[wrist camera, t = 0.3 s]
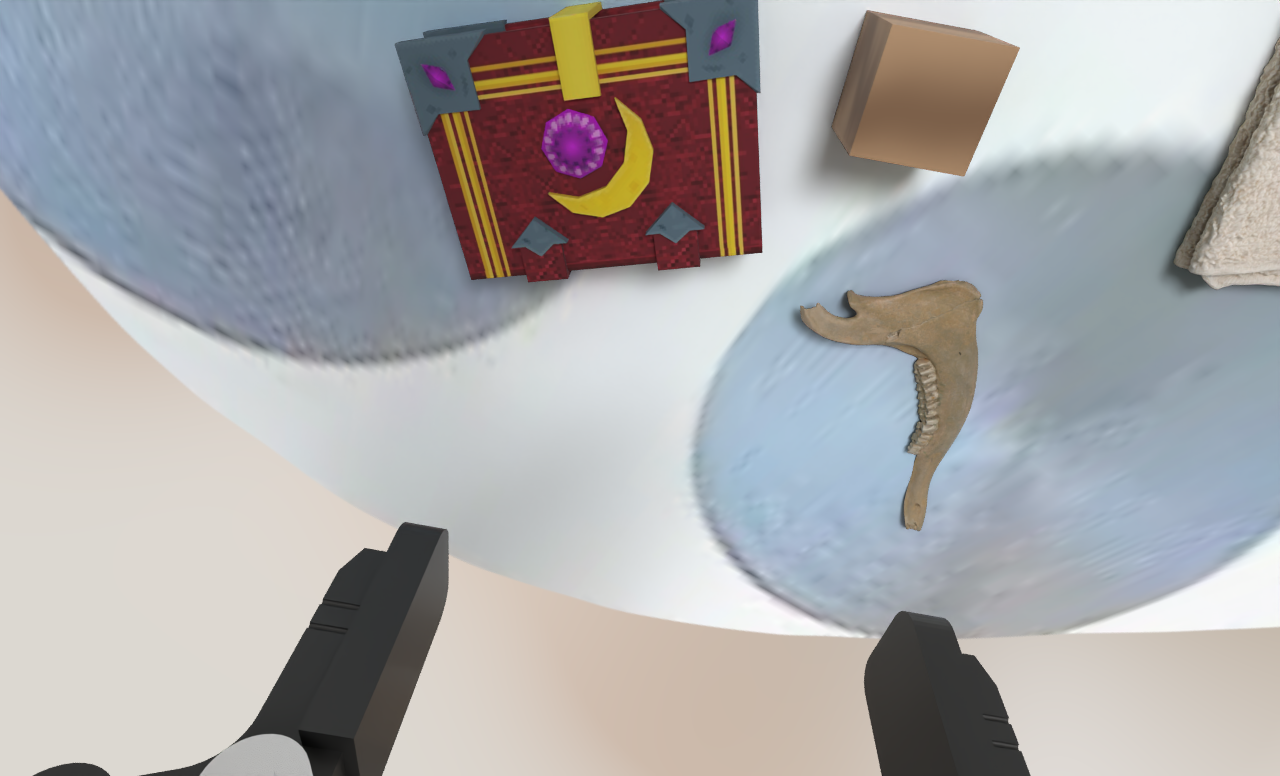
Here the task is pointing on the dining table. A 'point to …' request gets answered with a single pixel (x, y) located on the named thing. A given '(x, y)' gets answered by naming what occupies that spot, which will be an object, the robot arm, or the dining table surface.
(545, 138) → the decorative book
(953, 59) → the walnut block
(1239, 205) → the washcloth
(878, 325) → the jawbone
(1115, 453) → the dining table surface
